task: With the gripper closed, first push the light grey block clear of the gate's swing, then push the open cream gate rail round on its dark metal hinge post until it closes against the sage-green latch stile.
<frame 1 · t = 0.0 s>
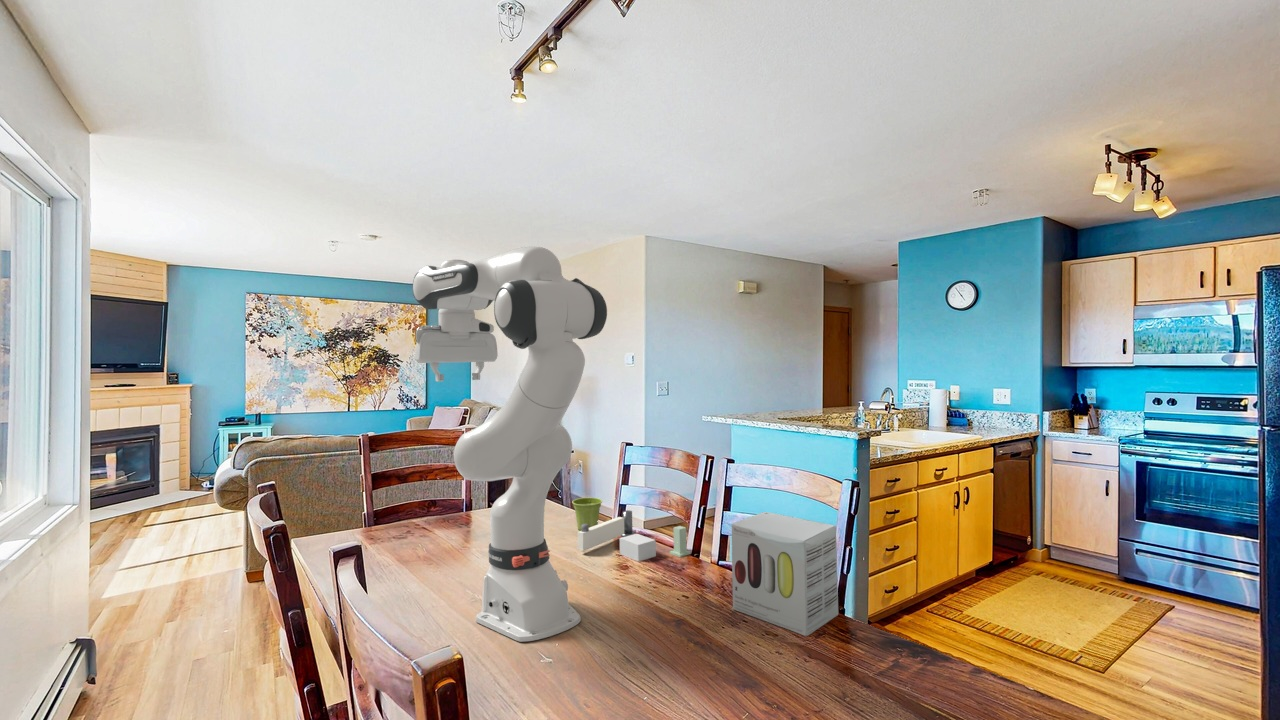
hand: (458, 380, 147), 48 cm above the table, tool pointing down, fingers open, 8 cm apart
plant pot: (587, 529, 182), on the table
latch stile: (680, 553, 156), on the table
light grey block: (637, 555, 156), on the table
hinge post: (627, 535, 174), on the table
gate: (601, 530, 164), point 4 cm above the table, hinge at -75.0°
supplement box: (784, 613, 118), on the table
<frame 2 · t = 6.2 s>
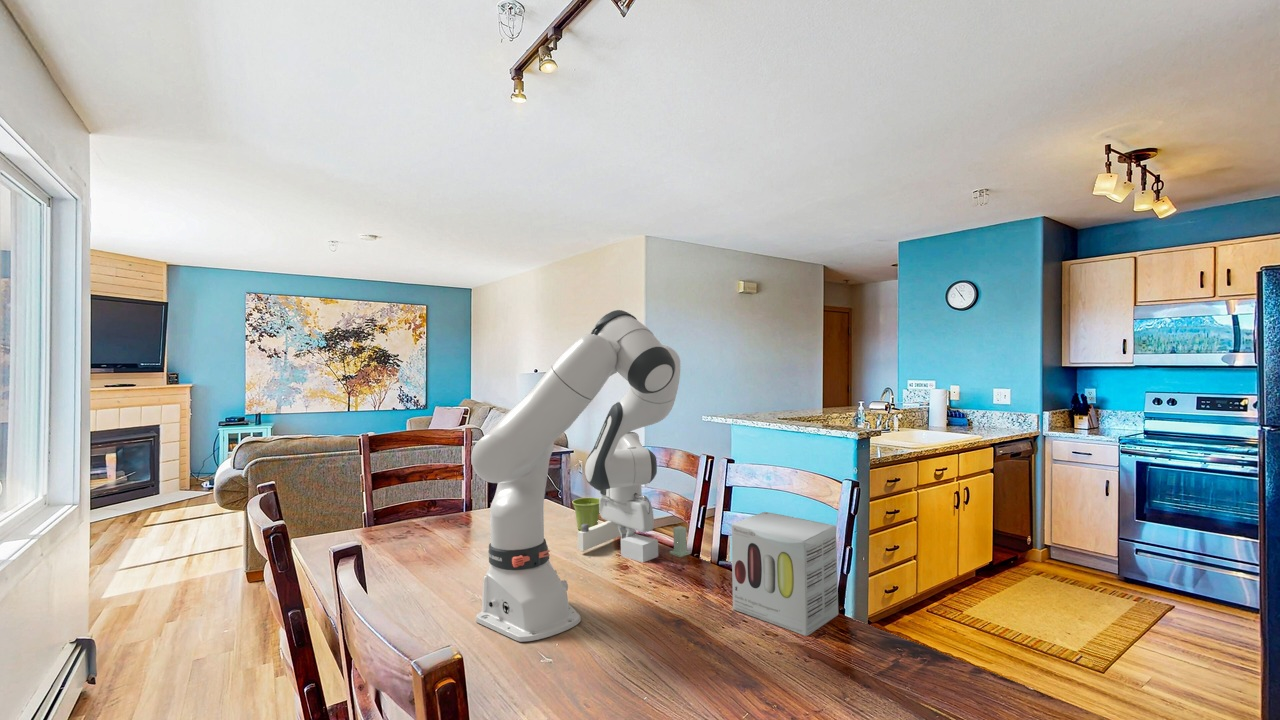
hand: (626, 541, 159), 3 cm above the table, tool pointing down, fingers closed
light grey block: (639, 556, 155), on the table, touching gripper
everything else where it was.
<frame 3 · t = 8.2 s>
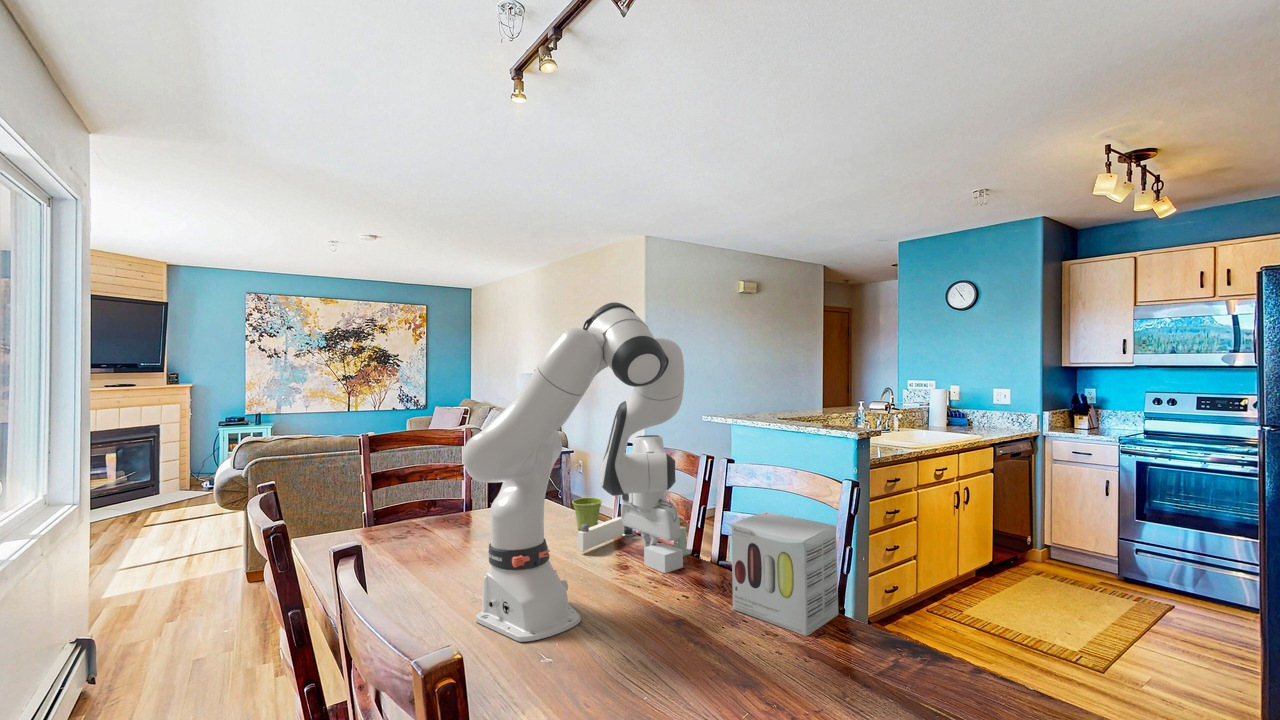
hand: (650, 549, 152), 3 cm above the table, tool pointing down, fingers closed
light grey block: (663, 566, 147), on the table, touching gripper
everything else where it was.
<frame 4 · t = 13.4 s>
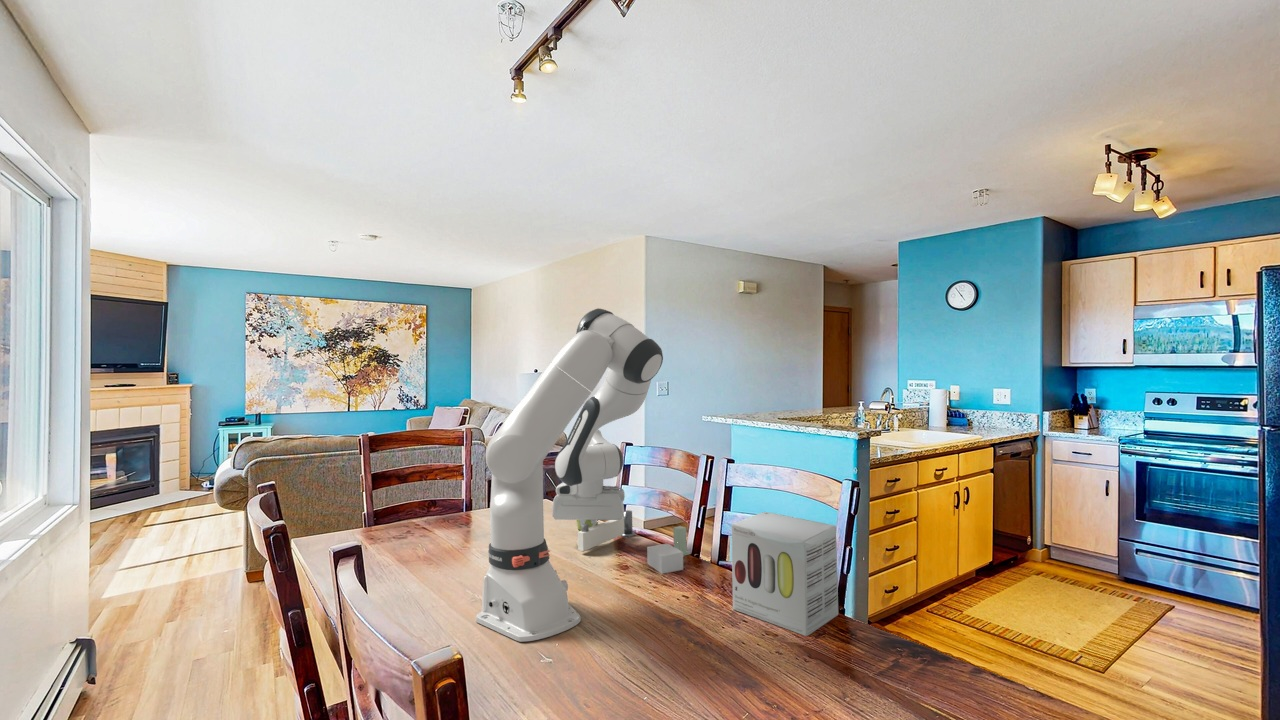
hand: (588, 534, 165), 3 cm above the table, tool pointing down, fingers closed
light grey block: (665, 567, 147), on the table
gate: (601, 530, 164), point 4 cm above the table, hinge at -75.0°, touching gripper
everything else where it was.
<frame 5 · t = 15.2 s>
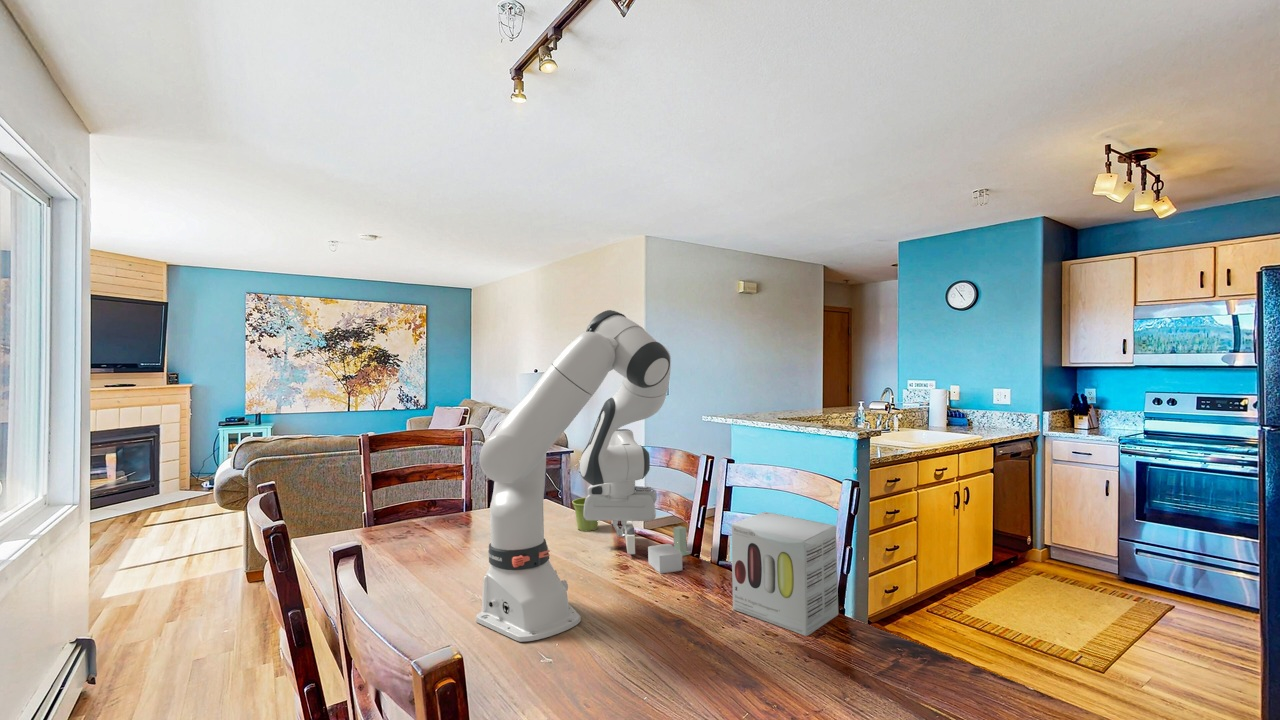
hand: (620, 536, 163), 3 cm above the table, tool pointing down, fingers closed
gate: (629, 532, 162), point 4 cm above the table, hinge at -35.0°, touching gripper
everything else where it was.
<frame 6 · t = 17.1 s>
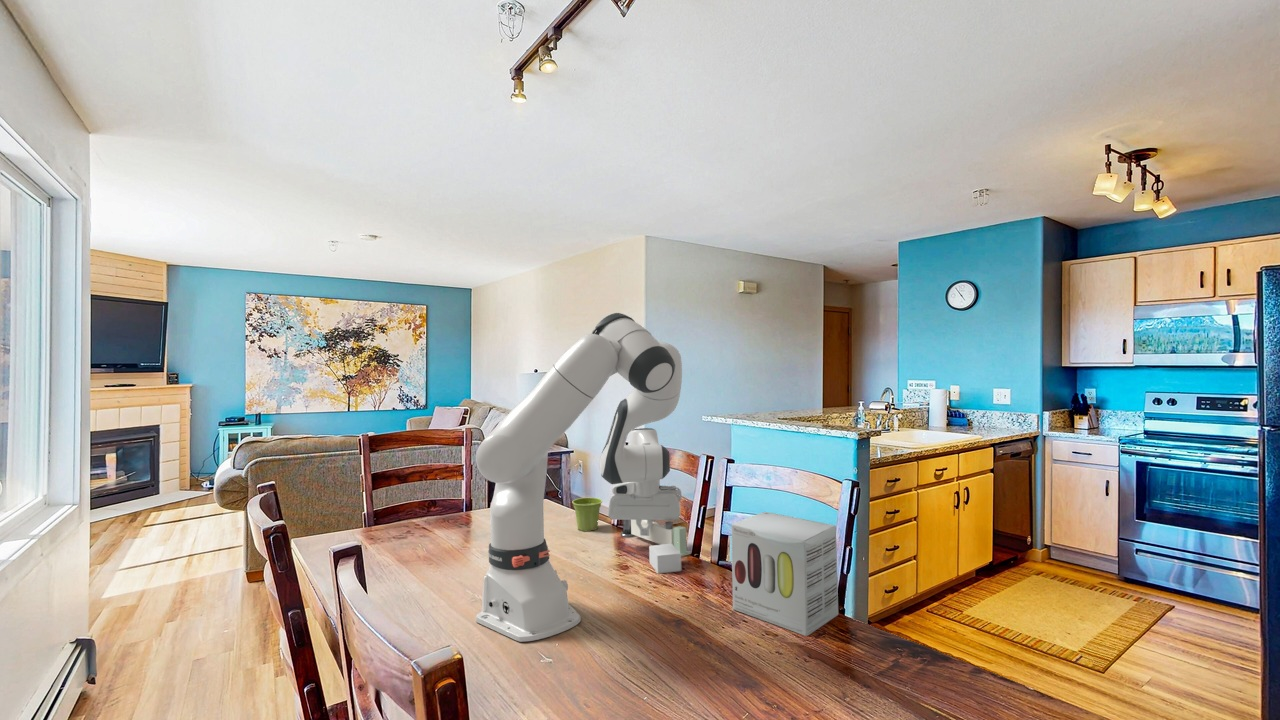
hand: (644, 535, 163), 3 cm above the table, tool pointing down, fingers closed
gate: (653, 528, 165), point 4 cm above the table, hinge at -0.7°, touching gripper
everything else where it was.
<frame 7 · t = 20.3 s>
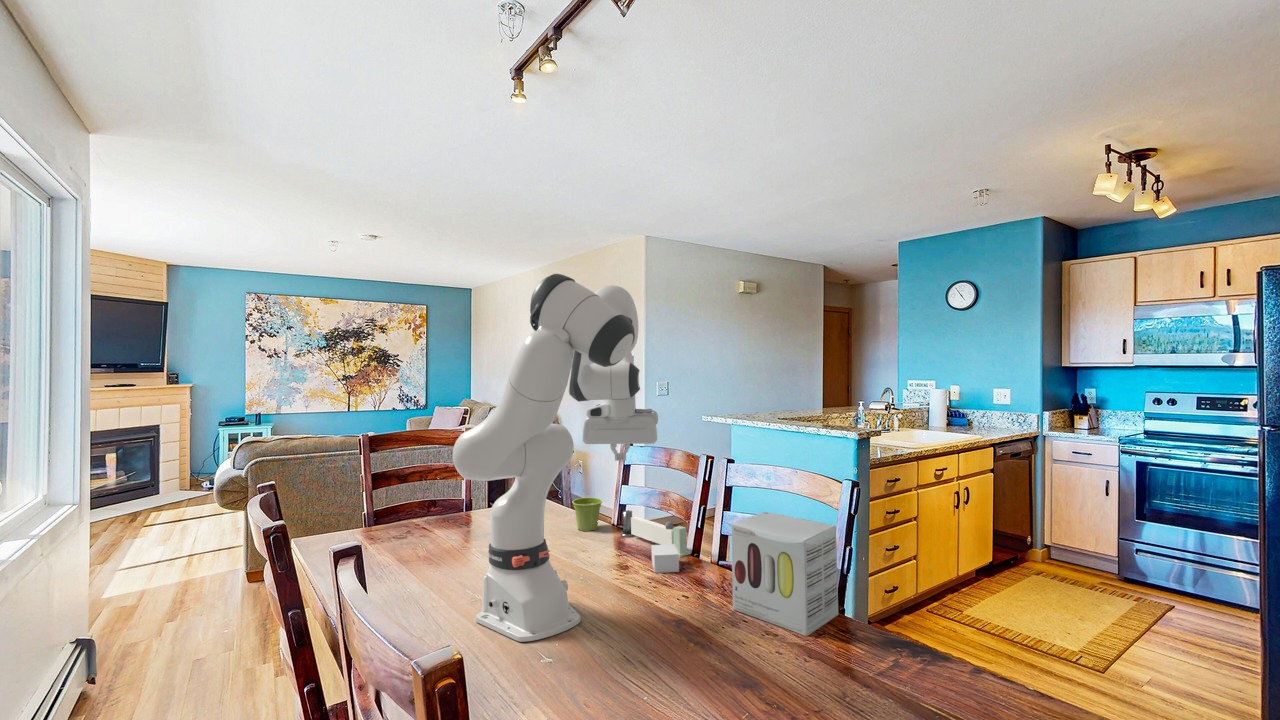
hand: (620, 460, 158), 25 cm above the table, tool pointing down, fingers closed
gate: (653, 528, 165), point 4 cm above the table, hinge at -0.6°
everything else where it was.
at the end: gate at -1° (first picture: -75°); light grey block moved 11.5 cm from its start; light grey block tilted 0° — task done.
